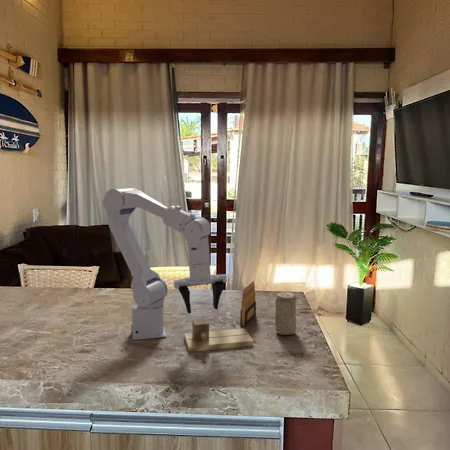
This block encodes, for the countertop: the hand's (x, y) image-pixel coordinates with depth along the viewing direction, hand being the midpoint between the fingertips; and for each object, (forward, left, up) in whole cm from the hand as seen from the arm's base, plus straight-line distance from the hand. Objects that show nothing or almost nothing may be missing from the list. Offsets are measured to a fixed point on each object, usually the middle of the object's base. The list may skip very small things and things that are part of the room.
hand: (202, 310), depth 117 cm
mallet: (-1, -3, -8) cm, 9 cm away
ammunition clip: (+17, +14, -10) cm, 24 cm away
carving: (+25, +2, -10) cm, 27 cm away
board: (+4, 0, -10) cm, 11 cm away
